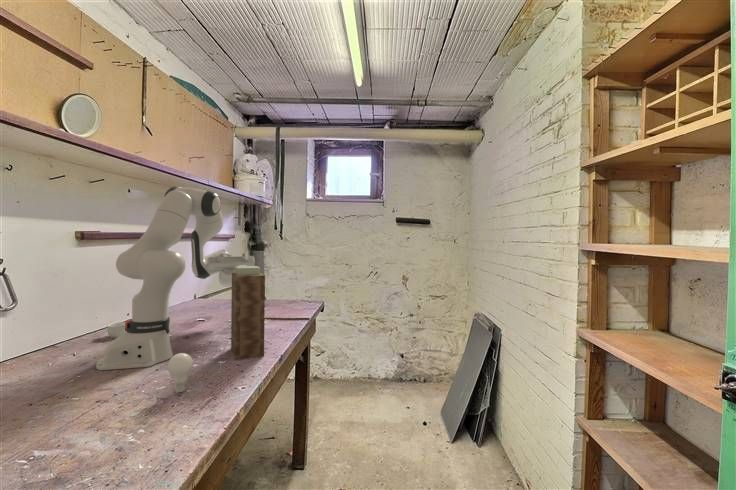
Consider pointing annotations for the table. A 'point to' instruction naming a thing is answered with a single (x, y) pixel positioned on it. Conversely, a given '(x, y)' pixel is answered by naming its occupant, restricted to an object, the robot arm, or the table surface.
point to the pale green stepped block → (247, 270)
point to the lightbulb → (180, 370)
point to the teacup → (116, 329)
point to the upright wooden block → (247, 315)
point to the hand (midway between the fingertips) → (233, 254)
